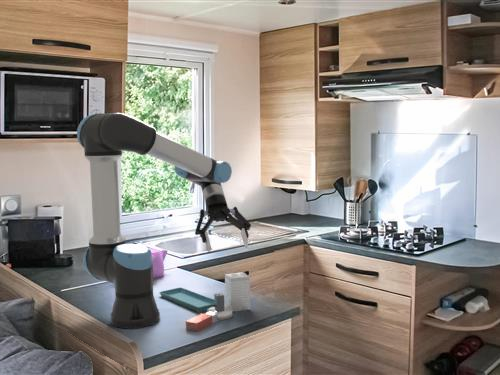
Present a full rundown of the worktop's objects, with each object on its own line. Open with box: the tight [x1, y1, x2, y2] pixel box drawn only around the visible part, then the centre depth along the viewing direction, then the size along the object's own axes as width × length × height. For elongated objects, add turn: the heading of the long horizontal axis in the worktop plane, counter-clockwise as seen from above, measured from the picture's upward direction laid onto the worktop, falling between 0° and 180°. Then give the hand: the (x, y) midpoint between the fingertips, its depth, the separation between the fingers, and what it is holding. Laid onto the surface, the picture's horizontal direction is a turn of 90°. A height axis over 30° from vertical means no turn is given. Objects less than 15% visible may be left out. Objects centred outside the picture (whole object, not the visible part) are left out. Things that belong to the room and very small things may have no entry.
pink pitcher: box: [148, 247, 168, 280], centre depth 238 cm, size 17×17×12 cm
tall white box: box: [224, 271, 251, 313], centre depth 194 cm, size 6×6×11 cm
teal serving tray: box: [159, 287, 215, 313], centre depth 203 cm, size 26×9×2 cm, turn 38°
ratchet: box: [185, 292, 233, 333], centre depth 182 cm, size 19×8×7 cm, turn 149°
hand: (228, 247), depth 204 cm, fingers open, 13 cm apart
